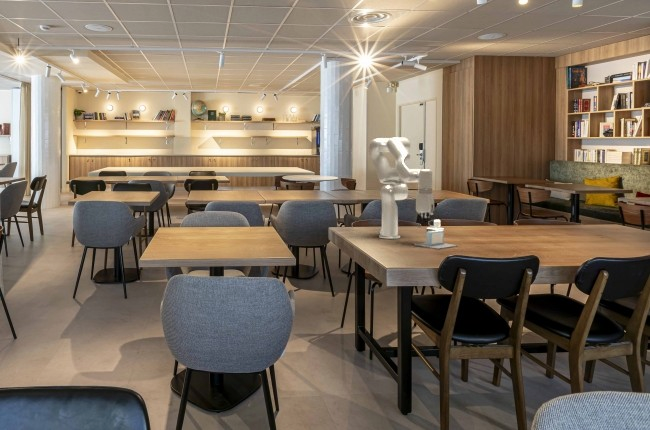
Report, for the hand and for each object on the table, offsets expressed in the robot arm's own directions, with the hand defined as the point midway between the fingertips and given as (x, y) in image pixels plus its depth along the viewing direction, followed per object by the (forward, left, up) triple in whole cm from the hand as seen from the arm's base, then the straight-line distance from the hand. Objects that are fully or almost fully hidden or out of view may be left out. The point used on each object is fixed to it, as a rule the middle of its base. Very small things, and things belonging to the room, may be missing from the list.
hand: (425, 224), depth 349 cm
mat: (+7, 0, -11) cm, 13 cm away
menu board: (+7, 0, -10) cm, 13 cm away
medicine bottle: (-7, +16, -11) cm, 21 cm away
